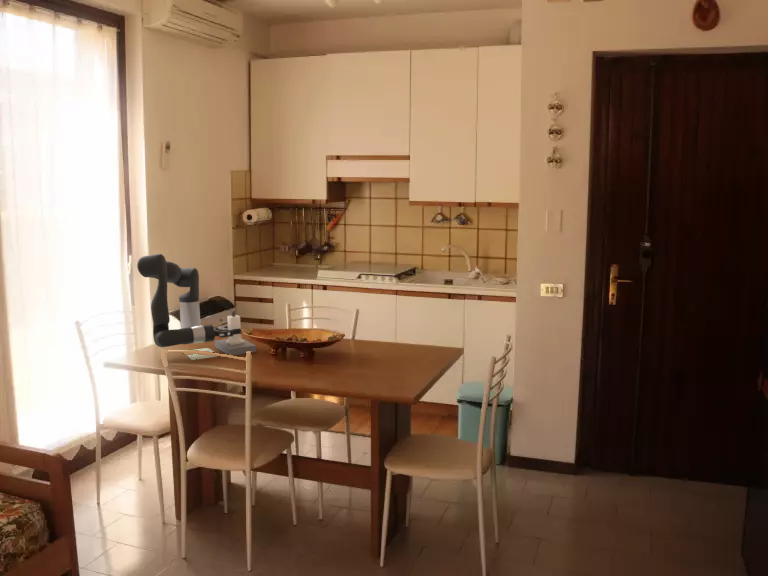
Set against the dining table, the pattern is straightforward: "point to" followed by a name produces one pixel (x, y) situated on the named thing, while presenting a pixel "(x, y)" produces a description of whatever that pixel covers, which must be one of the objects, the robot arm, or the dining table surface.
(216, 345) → the grey slotted block
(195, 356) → the mat
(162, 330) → the robot arm
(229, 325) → the plug
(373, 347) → the dining table surface
